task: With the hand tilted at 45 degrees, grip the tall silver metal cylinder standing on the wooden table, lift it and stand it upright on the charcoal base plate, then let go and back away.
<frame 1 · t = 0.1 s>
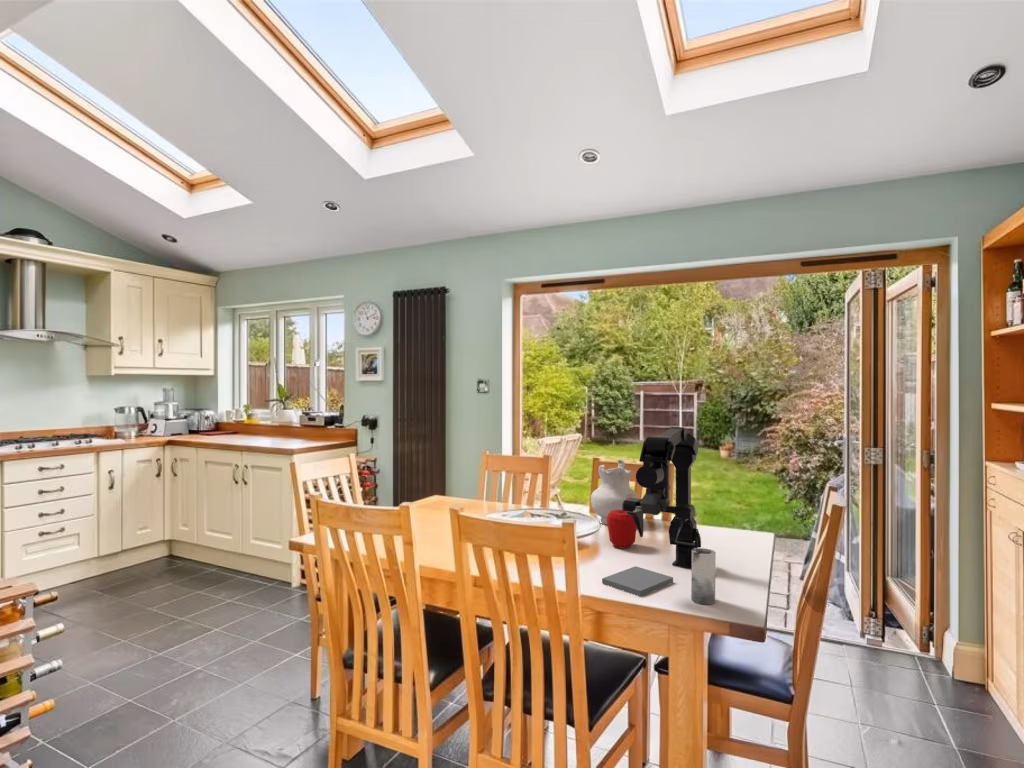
hand: (657, 539, 155), 15 cm above the table, tool pointing down, fingers open, 9 cm apart
ceramic pitcher: (614, 521, 234), on the table
base plate: (637, 583, 162), on the table
apple: (622, 546, 199), on the table
silver metal cylinder: (703, 600, 150), on the table
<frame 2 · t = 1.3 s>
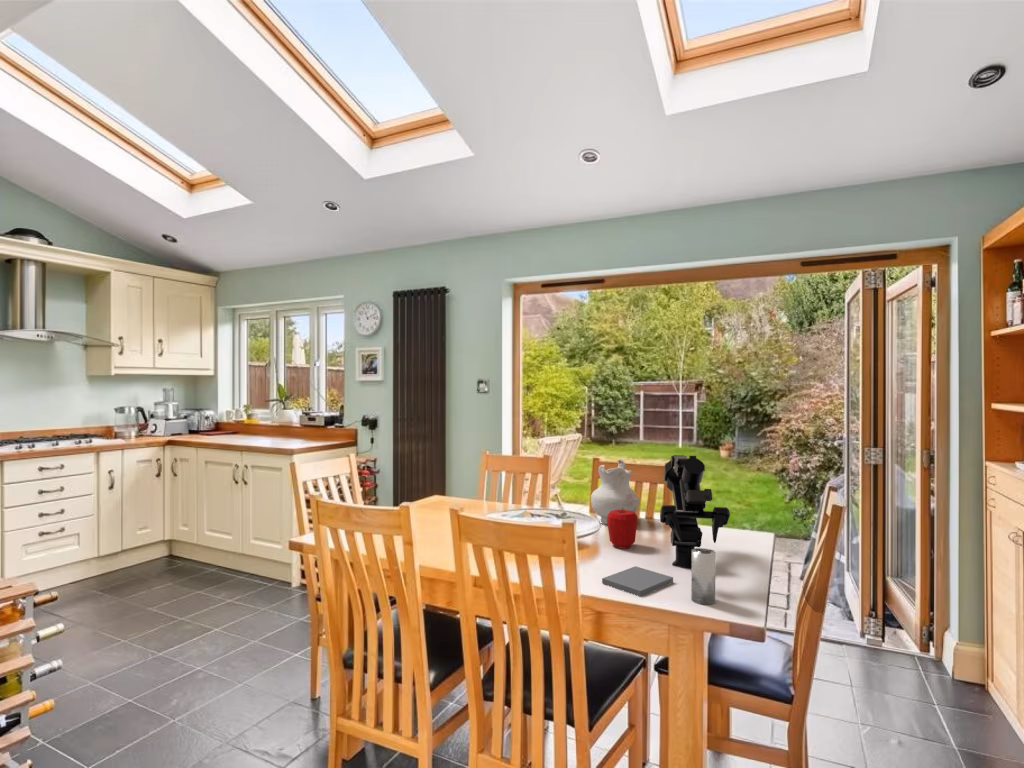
hand: (697, 541, 158), 13 cm above the table, tool tilted 45°, fingers open, 9 cm apart
nothing on the table moved.
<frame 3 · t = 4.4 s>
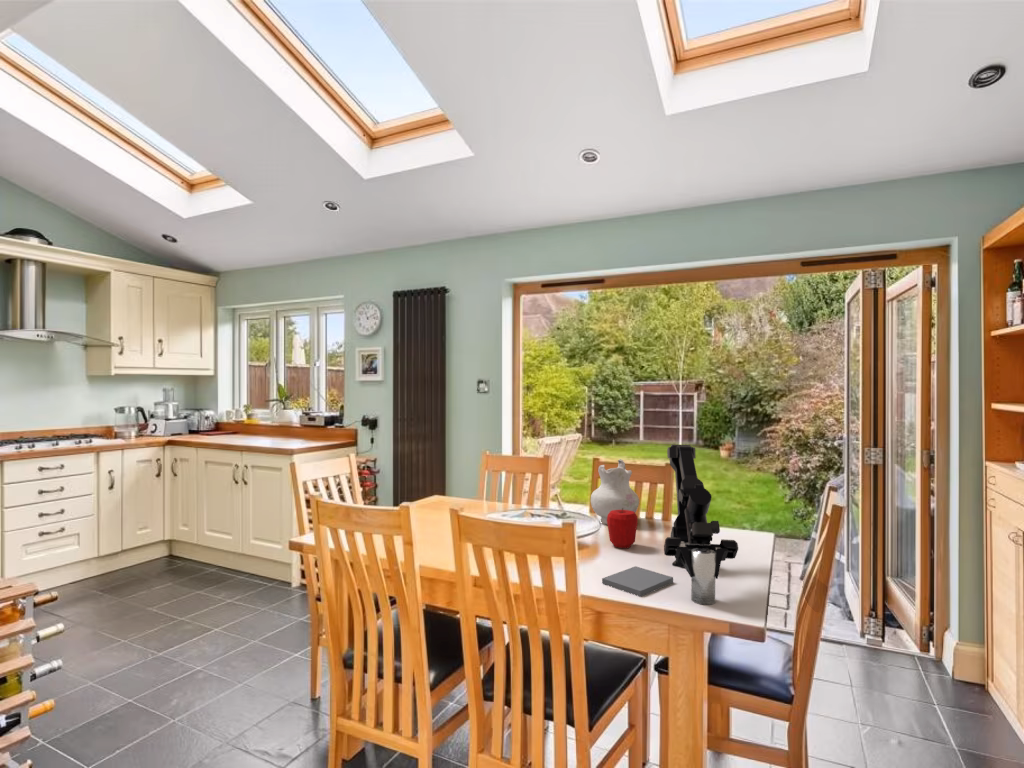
hand: (704, 577, 148), 7 cm above the table, tool tilted 45°, fingers closed on silver metal cylinder, 6 cm apart
silver metal cylinder: (703, 600, 150), on the table, touching gripper
everything else where it was.
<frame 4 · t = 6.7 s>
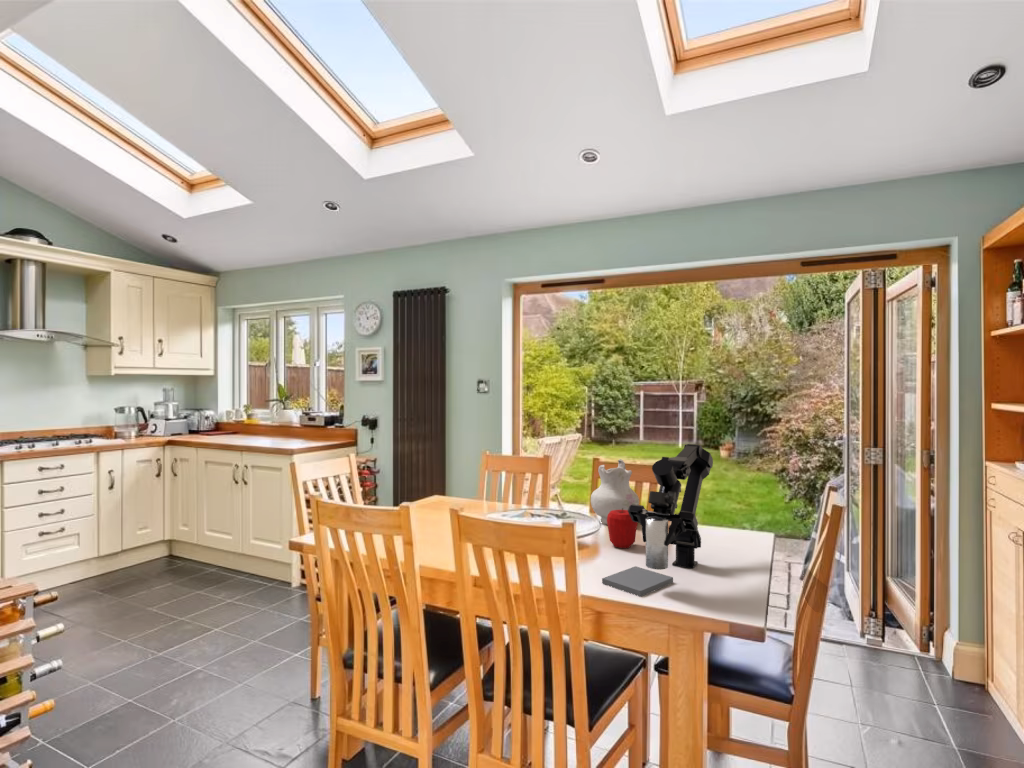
hand: (655, 543, 156), 13 cm above the table, tool tilted 45°, fingers closed on silver metal cylinder, 6 cm apart
silver metal cylinder: (656, 565, 157), point 7 cm above the table, touching gripper
everything else where it was.
when the fingers open (9 cm above the table, at t = 9.2 s): silver metal cylinder stays where it is, resting on base plate.
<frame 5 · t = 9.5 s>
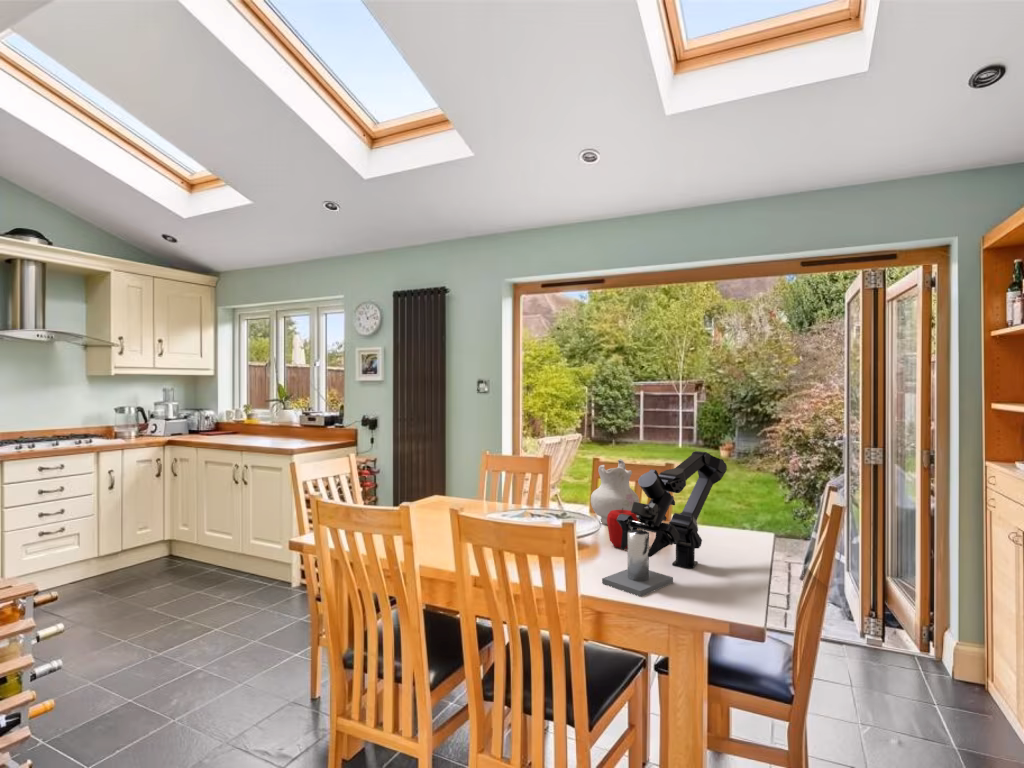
hand: (635, 552, 161), 9 cm above the table, tool tilted 45°, fingers open, 9 cm apart
silver metal cylinder: (638, 577, 163), point 1 cm above the table, touching base plate
everything else where it was.
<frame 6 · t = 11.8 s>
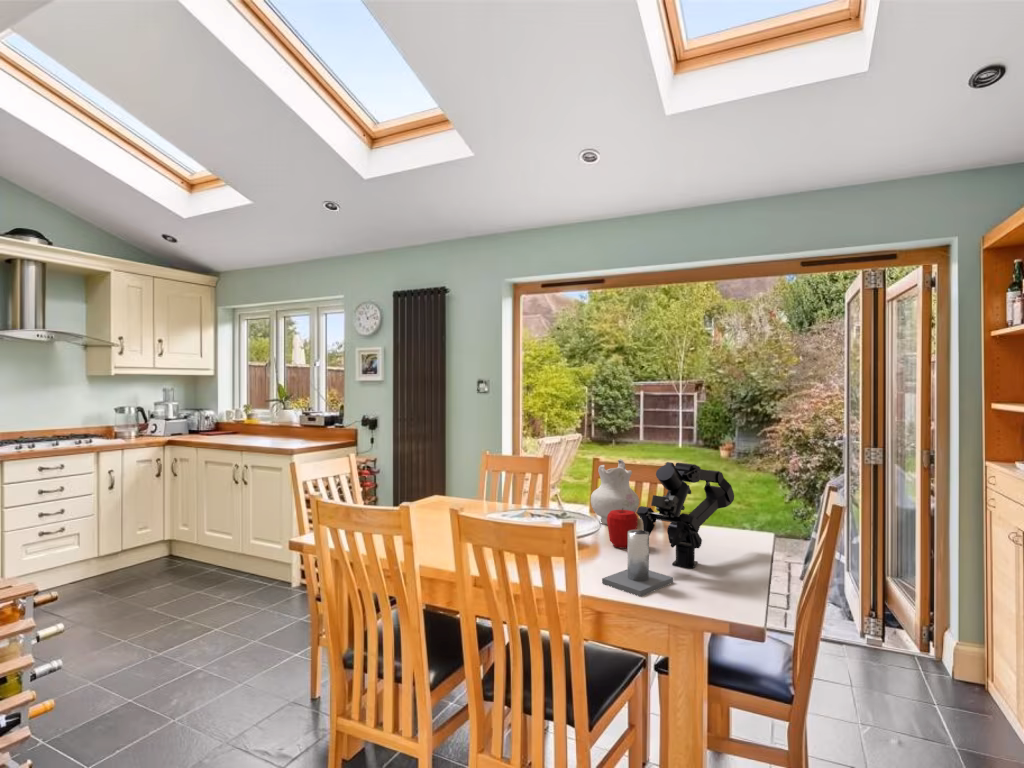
hand: (657, 543, 168), 10 cm above the table, tool tilted 40°, fingers open, 9 cm apart
nothing on the table moved.
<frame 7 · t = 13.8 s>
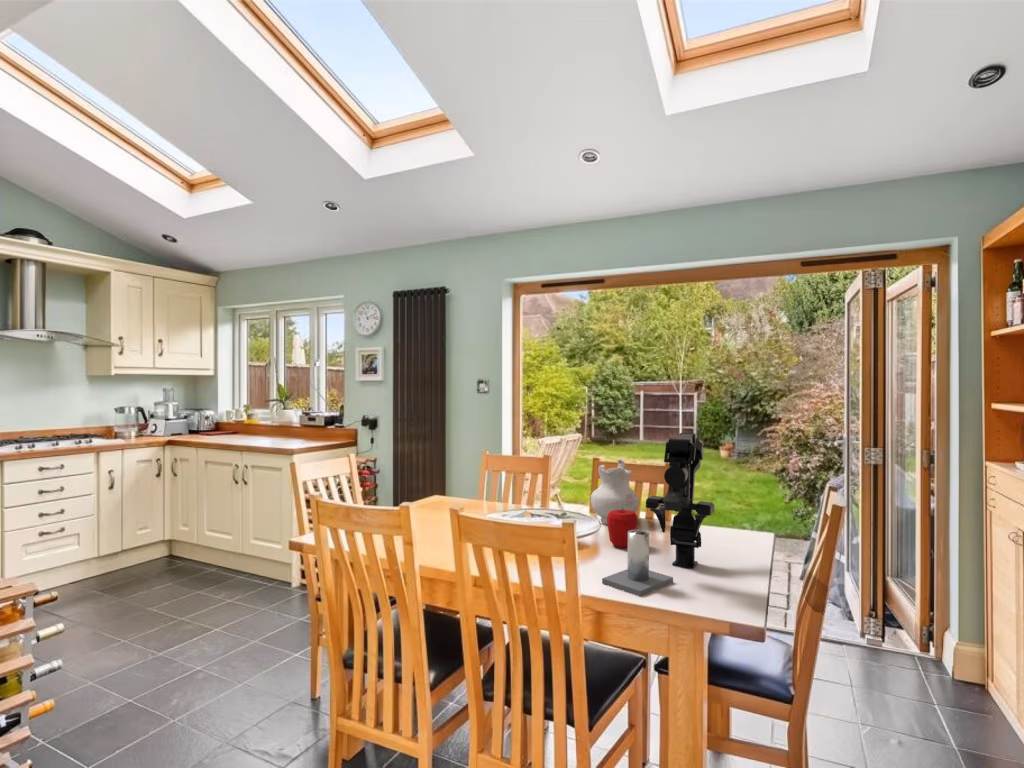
hand: (679, 534, 166), 13 cm above the table, tool pointing down, fingers open, 9 cm apart
nothing on the table moved.
at the end: silver metal cylinder inside the target area on the base plate (0.1 cm from its centre), point 1.5 cm above the base plate's base; silver metal cylinder tilted 0°; the gripper is holding nothing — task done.
